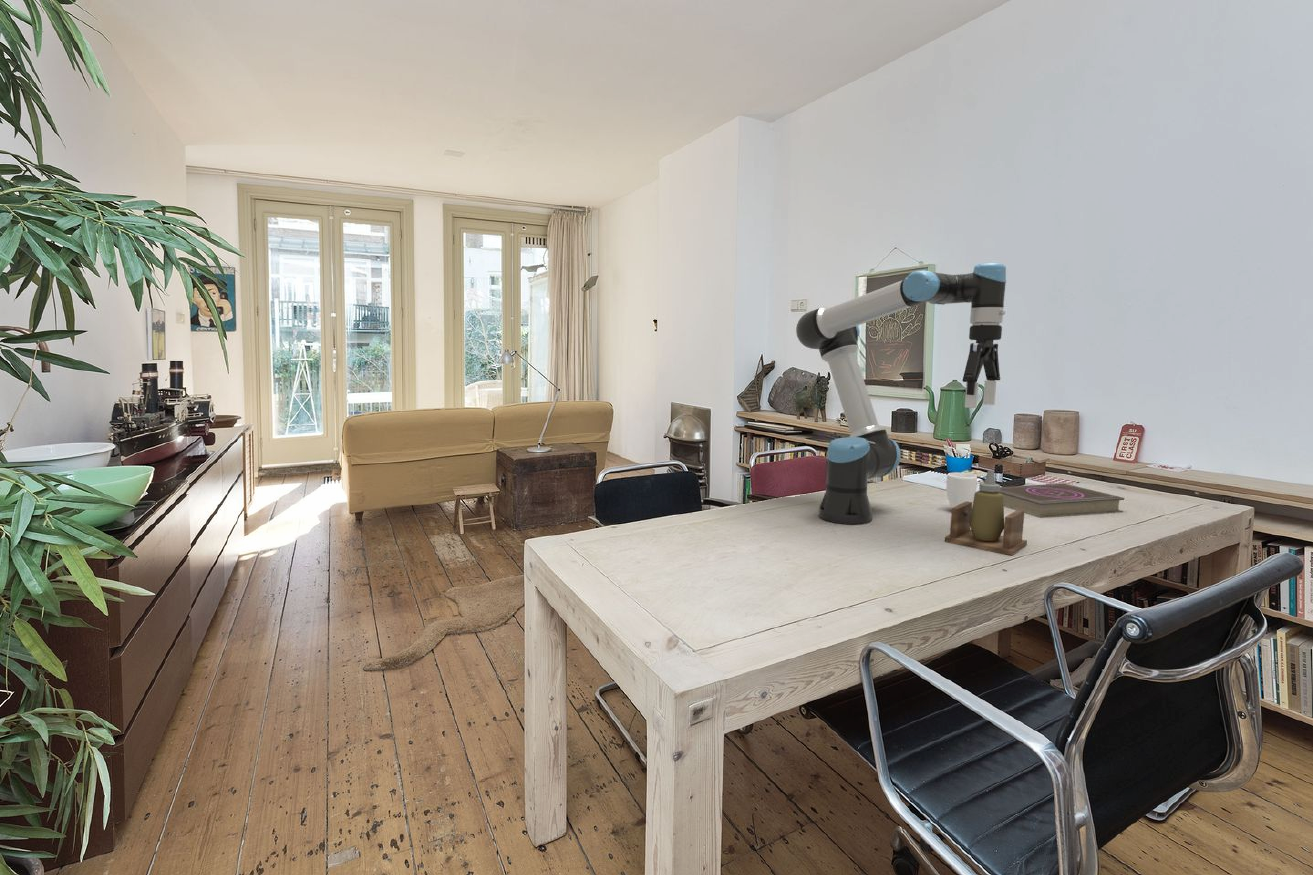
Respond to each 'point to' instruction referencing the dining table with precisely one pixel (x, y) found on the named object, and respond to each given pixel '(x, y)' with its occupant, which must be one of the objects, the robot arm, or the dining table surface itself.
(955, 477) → the mug
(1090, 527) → the dining table surface
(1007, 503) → the book
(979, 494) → the squeeze bottle
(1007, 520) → the holder
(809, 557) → the dining table surface
